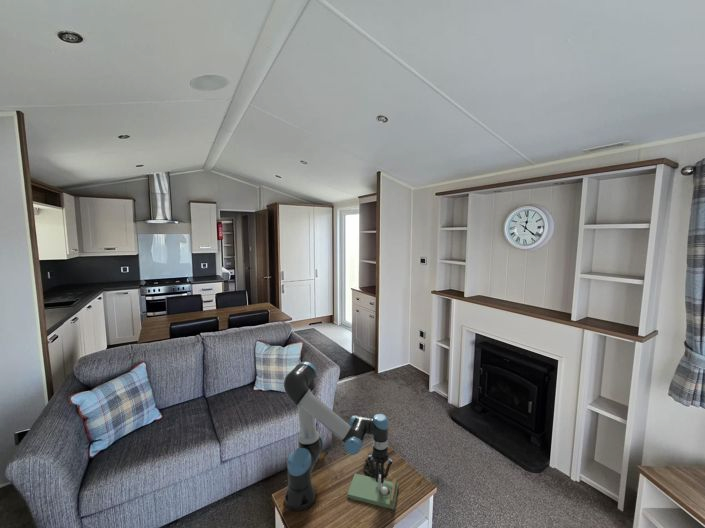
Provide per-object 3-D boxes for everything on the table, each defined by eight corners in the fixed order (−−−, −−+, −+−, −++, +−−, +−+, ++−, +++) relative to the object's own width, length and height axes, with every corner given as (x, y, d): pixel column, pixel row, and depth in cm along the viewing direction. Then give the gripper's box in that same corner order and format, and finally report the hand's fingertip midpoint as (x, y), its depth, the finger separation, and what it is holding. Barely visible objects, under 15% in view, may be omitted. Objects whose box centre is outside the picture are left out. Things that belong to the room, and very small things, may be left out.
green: (347, 497, 160) (347, 489, 159) (354, 476, 173) (354, 469, 173) (394, 509, 153) (394, 501, 153) (398, 486, 166) (398, 479, 166)
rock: (377, 485, 168) (390, 470, 172) (365, 469, 170) (378, 454, 174) (370, 481, 179) (382, 467, 184) (358, 465, 181) (371, 452, 185)
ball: (378, 494, 160) (382, 489, 159) (379, 488, 164) (383, 483, 163) (384, 499, 160) (388, 494, 159) (386, 493, 163) (390, 488, 162)
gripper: (366, 448, 157) (365, 490, 160) (391, 453, 154) (391, 496, 156) (369, 438, 164) (369, 479, 167) (394, 443, 161) (393, 484, 164)
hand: (379, 487), depth 162 cm, fingers closed
